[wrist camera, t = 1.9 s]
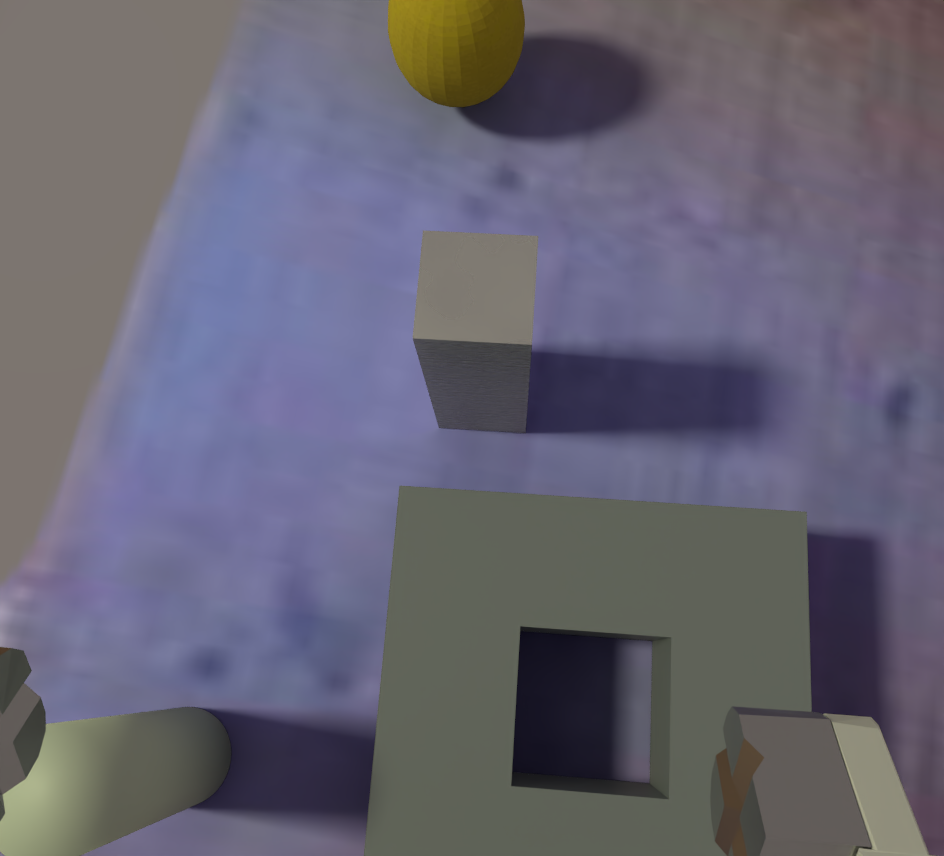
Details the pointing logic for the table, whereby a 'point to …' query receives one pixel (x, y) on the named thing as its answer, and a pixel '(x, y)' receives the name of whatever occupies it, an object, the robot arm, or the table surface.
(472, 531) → the socket block
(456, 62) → the lemon
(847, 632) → the table surface
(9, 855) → the round bit
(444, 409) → the square bit
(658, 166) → the table surface
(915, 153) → the table surface
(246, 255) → the table surface
